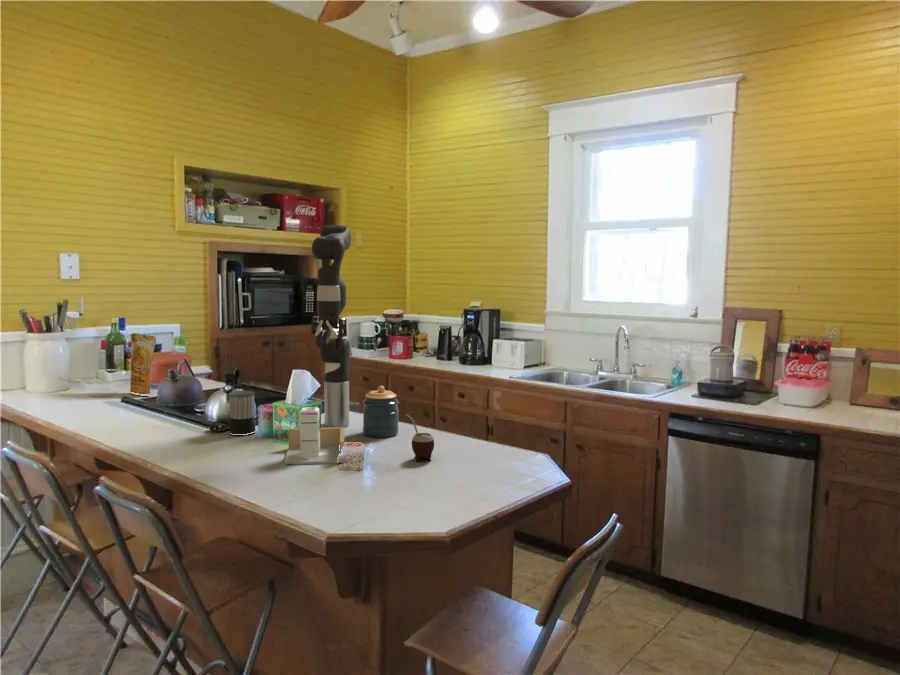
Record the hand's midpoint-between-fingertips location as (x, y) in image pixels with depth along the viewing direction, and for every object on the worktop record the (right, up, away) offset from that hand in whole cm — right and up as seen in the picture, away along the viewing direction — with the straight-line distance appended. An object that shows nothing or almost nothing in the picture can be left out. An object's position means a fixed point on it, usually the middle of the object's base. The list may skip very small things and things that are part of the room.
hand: (328, 348), depth 212 cm
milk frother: (-39, -31, +20) cm, 53 cm away
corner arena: (-3, -34, -7) cm, 35 cm away
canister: (+15, -32, +22) cm, 41 cm away
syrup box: (-4, -33, -9) cm, 35 cm away
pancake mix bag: (-103, -23, +86) cm, 136 cm away
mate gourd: (+31, -35, -10) cm, 48 cm away
